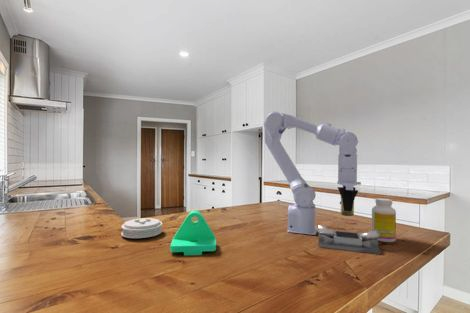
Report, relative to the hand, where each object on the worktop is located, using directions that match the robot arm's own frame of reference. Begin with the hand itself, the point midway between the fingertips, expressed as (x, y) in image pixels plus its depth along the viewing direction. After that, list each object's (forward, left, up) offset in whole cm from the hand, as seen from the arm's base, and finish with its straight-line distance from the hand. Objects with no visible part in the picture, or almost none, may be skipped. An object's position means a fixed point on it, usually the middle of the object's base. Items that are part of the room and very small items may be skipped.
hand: (347, 209), depth 84 cm
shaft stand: (-1, -9, -9) cm, 13 cm away
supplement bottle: (+11, +1, -9) cm, 14 cm away
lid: (-64, -23, -9) cm, 68 cm away
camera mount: (-41, -29, -9) cm, 51 cm away
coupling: (0, 0, -2) cm, 2 cm away
